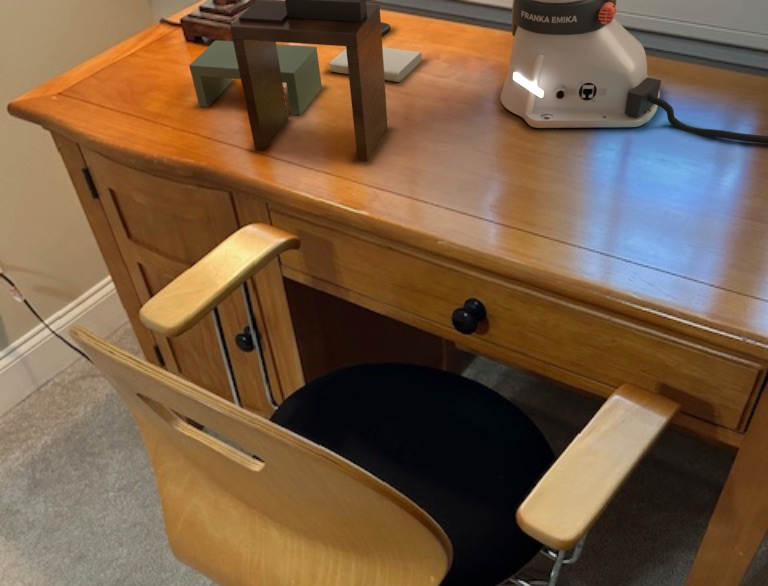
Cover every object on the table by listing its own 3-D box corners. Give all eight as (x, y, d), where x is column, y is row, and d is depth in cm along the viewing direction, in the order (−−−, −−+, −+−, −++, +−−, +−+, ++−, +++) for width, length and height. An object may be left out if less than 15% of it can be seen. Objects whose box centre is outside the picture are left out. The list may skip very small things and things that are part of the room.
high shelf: (388, 130, 113) (379, 4, 100) (367, 161, 108) (356, 34, 95) (279, 120, 117) (258, -2, 105) (254, 150, 112) (229, 26, 100)
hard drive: (398, 84, 122) (329, 72, 126) (422, 62, 126) (354, 51, 130) (398, 72, 121) (328, 61, 125) (421, 51, 125) (353, 41, 129)
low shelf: (322, 88, 123) (316, 46, 118) (300, 115, 118) (293, 73, 113) (224, 80, 127) (215, 40, 122) (199, 106, 122) (188, 65, 117)
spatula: (371, 10, 100) (370, -10, 98) (357, 27, 96) (355, 7, 95) (256, 4, 104) (253, -15, 102) (239, 21, 100) (235, 1, 99)
